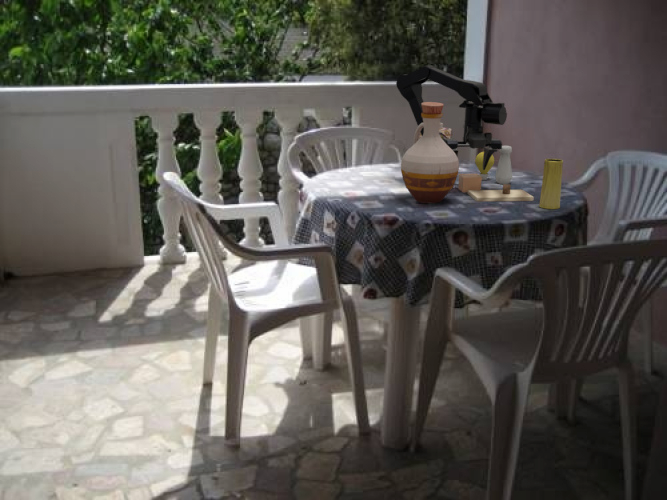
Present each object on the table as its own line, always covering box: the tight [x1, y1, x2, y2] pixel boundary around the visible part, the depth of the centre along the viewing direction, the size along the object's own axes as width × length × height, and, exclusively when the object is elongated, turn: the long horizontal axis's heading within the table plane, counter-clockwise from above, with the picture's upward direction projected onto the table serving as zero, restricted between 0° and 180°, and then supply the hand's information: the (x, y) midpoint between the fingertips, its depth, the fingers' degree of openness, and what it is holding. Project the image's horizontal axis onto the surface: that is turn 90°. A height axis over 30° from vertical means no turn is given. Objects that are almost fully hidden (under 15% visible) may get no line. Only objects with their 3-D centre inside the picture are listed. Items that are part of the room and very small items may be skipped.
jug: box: [400, 101, 460, 204], centre depth 219 cm, size 20×18×30 cm
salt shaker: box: [494, 145, 513, 185], centre depth 247 cm, size 6×6×13 cm
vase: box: [538, 158, 564, 210], centre depth 213 cm, size 6×6×14 cm
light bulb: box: [474, 151, 495, 181], centre depth 254 cm, size 7×7×10 cm
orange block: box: [457, 173, 483, 193], centre depth 237 cm, size 6×6×5 cm
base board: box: [467, 183, 534, 203], centre depth 227 cm, size 18×11×4 cm, turn 95°
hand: (470, 170), depth 236 cm, fingers open, 9 cm apart
